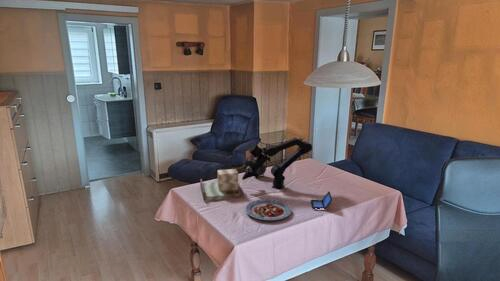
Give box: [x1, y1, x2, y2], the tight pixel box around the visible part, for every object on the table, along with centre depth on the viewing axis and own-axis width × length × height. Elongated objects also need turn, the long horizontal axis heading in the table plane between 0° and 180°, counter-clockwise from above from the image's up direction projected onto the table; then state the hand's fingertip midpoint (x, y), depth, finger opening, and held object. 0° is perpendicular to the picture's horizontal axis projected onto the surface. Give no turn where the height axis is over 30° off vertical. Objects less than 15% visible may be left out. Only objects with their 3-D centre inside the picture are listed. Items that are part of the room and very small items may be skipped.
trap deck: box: [199, 178, 245, 202], centre depth 206 cm, size 25×22×6 cm
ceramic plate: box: [244, 198, 292, 221], centre depth 181 cm, size 26×26×3 cm
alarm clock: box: [257, 162, 267, 177], centre depth 233 cm, size 11×5×16 cm, turn 84°
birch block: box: [216, 168, 239, 191], centre depth 206 cm, size 12×8×11 cm, turn 104°
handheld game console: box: [310, 191, 333, 210], centre depth 188 cm, size 12×11×7 cm
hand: (242, 179), depth 208 cm, fingers closed
